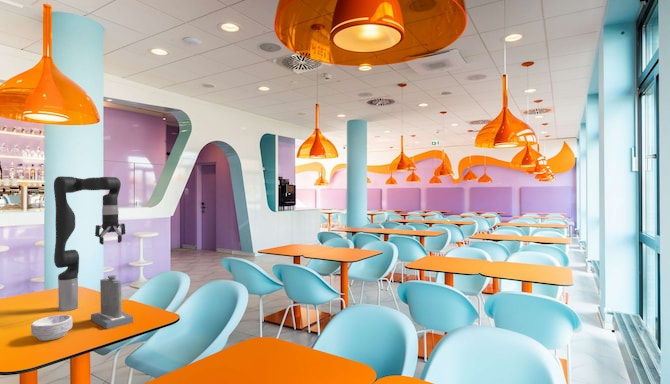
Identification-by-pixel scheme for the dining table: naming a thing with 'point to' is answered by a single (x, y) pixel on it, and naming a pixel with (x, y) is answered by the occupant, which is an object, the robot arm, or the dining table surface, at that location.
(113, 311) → the hip flask
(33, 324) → the paper bowls
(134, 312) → the dining table surface
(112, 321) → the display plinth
